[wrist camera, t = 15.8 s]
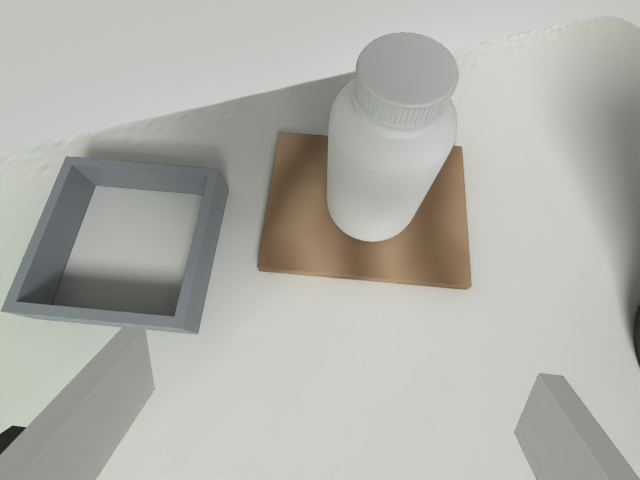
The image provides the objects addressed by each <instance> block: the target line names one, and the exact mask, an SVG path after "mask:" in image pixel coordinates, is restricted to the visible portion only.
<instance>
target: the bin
mask: <svg viewBox="0 0 640 480" xmlns="http://www.w3.org/2000/svg"><path fill="white" fill-rule="evenodd" d="M95 186H108V187H120V188H132V189H143V190H155V191H167V192H179V193H191V194H202V195H203V199H202V203H201V208H200V212H199V216H198V220H197V224H196V228H195V233H194V237H193V241H192V245H191V249H190V253H189V257H188V262H187V266H186V270H185V274H184V278H183V282H182V286H181V291H180V295H179V299H178V303H177V307H176V311H175V316H174V317H173V316H162V315H152V314H141V313H131V312H120V311H109V310H99V309H88V308H78V307H67V306H56V305H51V304H52V301H53V298H54V296H55V293H56V290H57V287H58V285H59V282H60V279H61V277H62V274H63V271H64V269H65V266H66V263H67V261H68V258H69V255H70V253H71V250H72V247H73V245H74V242H75V239H76V236H77V234H78V231H79V228H80V226H81V223H82V220H83V218H84V215H85V212H86V210H87V207H88V204H89V202H90V199H91V196H92V194H93V191H94V188H95ZM228 190H229V189H228V187H227V185H226V183H225V181H224V179H223V176H222V174H221V172H220V170H219V169H212V168H200V167H188V166H176V165H163V164H151V163H139V162H127V161H115V160H103V159H91V158H79V157H67V156H66V158H65V160H64V162H63V165H62V167H61V170H60V172H59V174H58V177H57V179H56V181H55V184H54V186H53V189H52V191H51V193H50V196H49V198H48V200H47V203H46V205H45V207H44V210H43V212H42V215H41V217H40V219H39V222H38V224H37V226H36V229H35V231H34V233H33V236H32V238H31V241H30V243H29V245H28V248H27V250H26V252H25V255H24V257H23V259H22V262H21V264H20V267H19V269H18V271H17V274H16V276H15V278H14V281H13V283H12V285H11V288H10V290H9V293H8V295H7V297H6V300H5V302H4V304H3V307H2V309H1V312H6V313H11V314H15V315H20V316H25V317H30V318H35V319H44V320H54V321H65V322H75V323H86V324H96V325H106V326H117V327H132V328H141V329H148V330H159V331H169V332H180V333H190V334H198V331H199V326H200V321H201V316H202V312H203V307H204V302H205V298H206V293H207V288H208V284H209V279H210V274H211V269H212V265H213V260H214V255H215V251H216V246H217V241H218V237H219V232H220V227H221V222H222V218H223V213H224V208H225V204H226V199H227V194H228Z"/></svg>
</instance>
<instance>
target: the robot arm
mask: <svg viewBox="0 0 640 480" xmlns="http://www.w3.org/2000/svg"><path fill="white" fill-rule="evenodd" d="M635 339H636V346H637V352H638V356H639V359H640V306H639V309H638V313H637V317H636V324H635ZM154 390H155V387H154V381H153V375H152V368H151V362H150V356H149V349H148V343H147V337H146V330H145V329H141V328H132V327H123V328H122V329H121V330H120V331H119V332H118V333H117V334H116V335H115V336H114V337H113V338H112V339H111V340H110V341H109V342H108V343H107V344H106V345H105V346H104V347H103V348H102V349H101V351H100V352H99V353H98V354H97V355H96V356H95V357H94V358H93V359H92V360H91V361H90V362H89V363H88V364H87V365H86V366H85V367H84V368H83V369H82V370H81V371H80V372H79V373H78V374H77V376H76V377H75V378H74V379H73V380H72V381H71V382H70V383H69V384H68V385H67V386H66V387H65V388H64V389H63V390H62V391H61V392H60V393H59V394H58V395H57V396H56V397H55V398H54V399H53V401H52V402H51V403H50V404H49V405H48V406H47V407H46V408H45V409H44V410H43V411H42V412H41V413H40V414H39V415H38V416H37V417H36V418H35V419H34V420H33V421H32V422H31V423H30V424H29V425H28V427H19V426H11V427H10V428H8V429H7V430H5V431H4V432H2V433H1V434H0V480H96V478H97V477H98V475H99V473H100V472H101V470H102V469H103V467H104V466H105V464H106V463H107V461H108V460H109V458H110V457H111V455H112V454H113V452H114V451H115V449H116V448H117V446H118V444H119V443H120V441H121V440H122V438H123V437H124V435H125V434H126V432H127V431H128V429H129V428H130V426H131V425H132V423H133V422H134V420H135V419H136V417H137V416H138V414H139V412H140V411H141V409H142V408H143V406H144V405H145V403H146V402H147V400H148V399H149V397H150V396H151V394H152V393H153V391H154ZM514 433H515V435H516V438H517V440H518V442H519V444H520V446H521V448H522V450H523V452H524V454H525V456H526V459H527V461H528V463H529V465H530V467H531V469H532V471H533V473H534V475H535V477H536V480H640V479H639V477H638V476H637V475H636V473H635V472H634V471H633V469H632V468H631V467H630V465H629V464H628V463H627V461H626V460H625V459H624V457H623V456H622V454H621V453H620V452H619V450H618V449H617V448H616V446H615V445H614V444H613V442H612V441H611V440H610V438H609V437H608V436H607V434H606V433H605V432H604V430H603V429H602V428H601V426H600V425H599V424H598V422H597V421H596V419H595V418H594V417H593V415H592V414H591V413H590V411H589V410H588V409H587V407H586V406H585V405H584V403H583V402H582V401H581V399H580V398H579V397H578V395H577V394H576V393H575V391H574V390H573V388H572V387H571V386H570V384H569V383H568V382H567V380H566V379H565V378H564V376H560V375H552V374H543V373H539V374H538V376H537V379H536V381H535V383H534V386H533V388H532V390H531V393H530V395H529V398H528V400H527V402H526V405H525V407H524V410H523V412H522V414H521V417H520V419H519V421H518V424H517V426H516V429H515V431H514Z"/></svg>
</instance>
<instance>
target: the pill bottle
mask: <svg viewBox="0 0 640 480" xmlns="http://www.w3.org/2000/svg"><path fill="white" fill-rule="evenodd" d="M458 74H459V72H458V67H457V64H456V61H455V59H454V57H453V56H452V54H451V53H450V52H449V51H448V50H447V49H446V48H445V47H444V46H443V45H442V44H440V43H439V42H437V41H435V40H434V39H431V38H429V37H427V36H423V35H420V34H415V33H405V32H403V33H392V34H388V35H384V36H382V37H379V38H377V39H375V40H374V41H372V42H371V43H369V44H368V45H367V46H366V47H365V48H364V49H363V51H362V52H361V54H360V56H359V58H358V60H357V64H356V72H355V78H353V79H352V80H351V81H349V82H348V83H347V84H346V85H345V86H344V87H343V88H342V90H341V91H340V92H339V94H338V95H337V97H336V99H335V101H334V103H333V105H332V108H331V111H330V116H329V130H328V165H327V206H328V210H329V213H330V216H331V218H332V219H333V221H334V223H335V224H336V225H337V226H338V227H339V228H340V229H341V230H342V231H343V232H344V233H346V234H347V235H349V236H351V237H353V238H356V239H358V240H362V241H369V242H376V241H383V240H387V239H390V238H392V237H394V236H396V235H397V234H399V233H400V232H401V231H403V230H404V229H405V228H406V227H407V225H408V224H409V223H410V222H411V220H412V218H413V217H414V215H415V213H416V211H417V210H418V208H419V206H420V204H421V203H422V201H423V199H424V197H425V196H426V194H427V192H428V190H429V189H430V187H431V185H432V183H433V181H434V180H435V178H436V176H437V174H438V173H439V171H440V169H441V167H442V166H443V164H444V162H445V160H446V159H447V157H448V155H449V153H450V151H451V149H452V147H453V145H454V142H455V139H456V134H457V115H456V111H455V108H454V105H453V103H452V101H451V97H452V95H453V93H454V91H455V89H456V86H457V84H458V78H459V75H458Z"/></svg>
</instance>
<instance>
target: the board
mask: <svg viewBox="0 0 640 480" xmlns="http://www.w3.org/2000/svg"><path fill="white" fill-rule="evenodd" d="M327 165H328V136H322V135H310V134H297V133H285V132H279V137H278V143H277V149H276V155H275V161H274V167H273V173H272V179H271V186H270V192H269V198H268V204H267V210H266V216H265V222H264V228H263V234H262V241H261V247H260V253H259V259H258V265H257V268H258V269H259V271H265V272H276V273H288V274H299V275H310V276H321V277H332V278H343V279H354V280H365V281H376V282H387V283H398V284H409V285H421V286H432V287H443V288H454V289H465V290H466V289H468V288H469V287H471V286H472V285H471V270H470V256H469V241H468V227H467V212H466V198H465V183H464V169H463V154H462V147H460V146H453V147H452V149H451V151H450V153H449V155H448V157H447V159H446V160H445V162H444V164H443V166H442V167H441V169H440V171H439V173H438V174H437V176H436V178H435V180H434V181H433V183H432V185H431V187H430V189H429V190H428V192H427V194H426V196H425V197H424V199H423V201H422V203H421V204H420V206H419V208H418V210H417V211H416V213H415V215H414V217H413V218H412V220H411V222H410V223H409V224H408V225H407V227H406V228H405V229H404V230H403V231H401V232H400V233H399V234H397V235H396V236H394V237H392V238H390V239H387V240H383V241H376V242H369V241H362V240H358V239H356V238H353V237H351V236H349V235H347V234H346V233H344V232H343V231H342V230H341V229H340V228H339V227H338V226H337V225H336V224H335V223H334V221H333V219H332V218H331V216H330V213H329V210H328V206H327Z"/></svg>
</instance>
